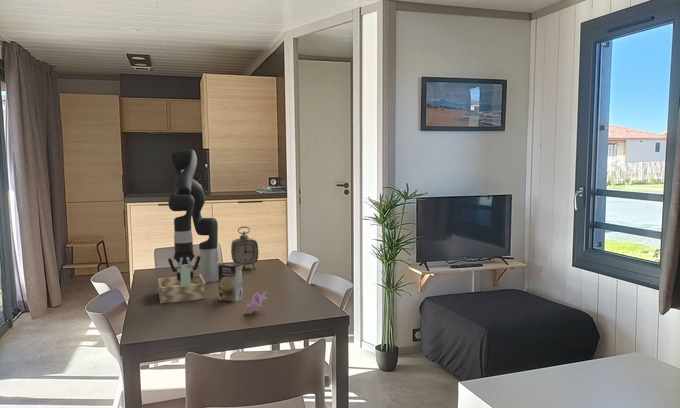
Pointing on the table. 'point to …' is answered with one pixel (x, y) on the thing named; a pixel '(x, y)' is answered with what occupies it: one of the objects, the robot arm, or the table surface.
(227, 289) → the coffee box
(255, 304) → the lily
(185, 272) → the peg
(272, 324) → the table surface
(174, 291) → the box
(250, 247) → the tabletop clock
